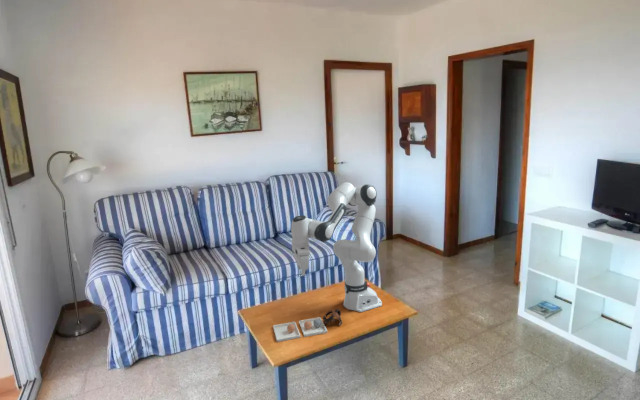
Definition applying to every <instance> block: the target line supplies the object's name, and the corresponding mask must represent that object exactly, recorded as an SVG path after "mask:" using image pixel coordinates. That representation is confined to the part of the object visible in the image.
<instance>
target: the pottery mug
mask: <svg viewBox="0 0 640 400" xmlns="http://www.w3.org/2000/svg"><path fill="white" fill-rule="evenodd" d="M341 313H342V312H341V310H340V309H339V308H337V309H335V310H329V311H327V312H326V313H324V316H322V321H323V323H324V325H325V324H326V325H327V324H328V325H330V322H336V321H335V319H336V320H339V323H338V326H339V327H342V325H343V320H342V318H341ZM329 315H330V316H329ZM328 316H329V317H328Z"/></svg>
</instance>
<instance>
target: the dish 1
mask: <svg viewBox="0 0 640 400" xmlns="http://www.w3.org/2000/svg"><path fill="white" fill-rule="evenodd" d="M296 322H297V321H290V322H285V323H280V324H274V325H272V327H273V329H272V330H273V332H274V337H275V339H276V342H277V343H280V342H283V341H284V342H286V341H290V340H295V339H300V338H301V337H302V336H301V333H300V330H299V328H298V325H297V323H296ZM289 324H293V325H294V326H295V330H294V331H293V332H289V331H288V330H287V327H288V325H289Z"/></svg>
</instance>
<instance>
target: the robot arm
mask: <svg viewBox="0 0 640 400" xmlns="http://www.w3.org/2000/svg"><path fill="white" fill-rule="evenodd" d="M376 199H377V189H376V187H375V186H374V185H372V184H362V185H357V186H354V185H353V184H352V183H351V182H347V181H345V182H342V183H341V184H340V185H338V186H337V187H336V188H335V189H334V190H333V191H332V192H331V193H330V194H328V197H327V199H326V201H327V202H326V203H327V205H328V208H329V210H331V211H332V213H331V215H329V217H328V219H327V220H326V221H320V220H317V219H313V218H308V217H307V216H306V215H297V216H295V217H294V218H292V221H291V225H290V228H291V229H290V230H291V233H290V234H291V236H292V239H291V251H292V252H293V255H294V259H295V261H296V264H297V269H298V270H300V271H301V272H300V273H301V277H304V276H306V271H307V270H309V266H310V255H311V251H310V241H309V238H311V239H314V240H317V241H319V242H322V243H326V242H328V241H329V240H330V239H331V238H332V237H333V235H334V232H335V230H336V229H337V228H338V227H337V226H338V225H339V223H340V222H341V220H342V219H343V218H344V216H345V214H346V212H347V205H348V206H352V207H356V206H357V211H356V214H355V217H354V220H353V222H352V223H353V224H352V225H351V232H352V234H353V235H355V236H356V239H355V240H351V239H338V240H336V241H335V242H334V244H333V247H332V251H333V254H334V255H335V256H336V257H337V258H338V259H339V261H340V263H341V264H342V267H343V269H344V279H345V281H344V300H343V304H342V305H343V307H344V308H346V309H347V310H350V311H356V312H359V313H363V312H366V311H369V310H372V309H376V308H380V307H382V306H383V305H382V304H383V302H382V300H381V298H380V297H378V294H377V292H376V291H375V290H374V289H373V288H371V286H372V285H371V284H370V283H369V282H367V280H366V279H365V270H364V267H363V266H362V265H360V263H372V262H373V261H374V259H375V258H376V255H377V254H376V253H377V250H376V248H375V246H374V245H373V243H372V241H371V233H372V228H373V225H374V222H375V217H376V214H377V213H376V212H377V209H376V206H375V203H376V202H377V201H376ZM359 262H360V263H359Z"/></svg>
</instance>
